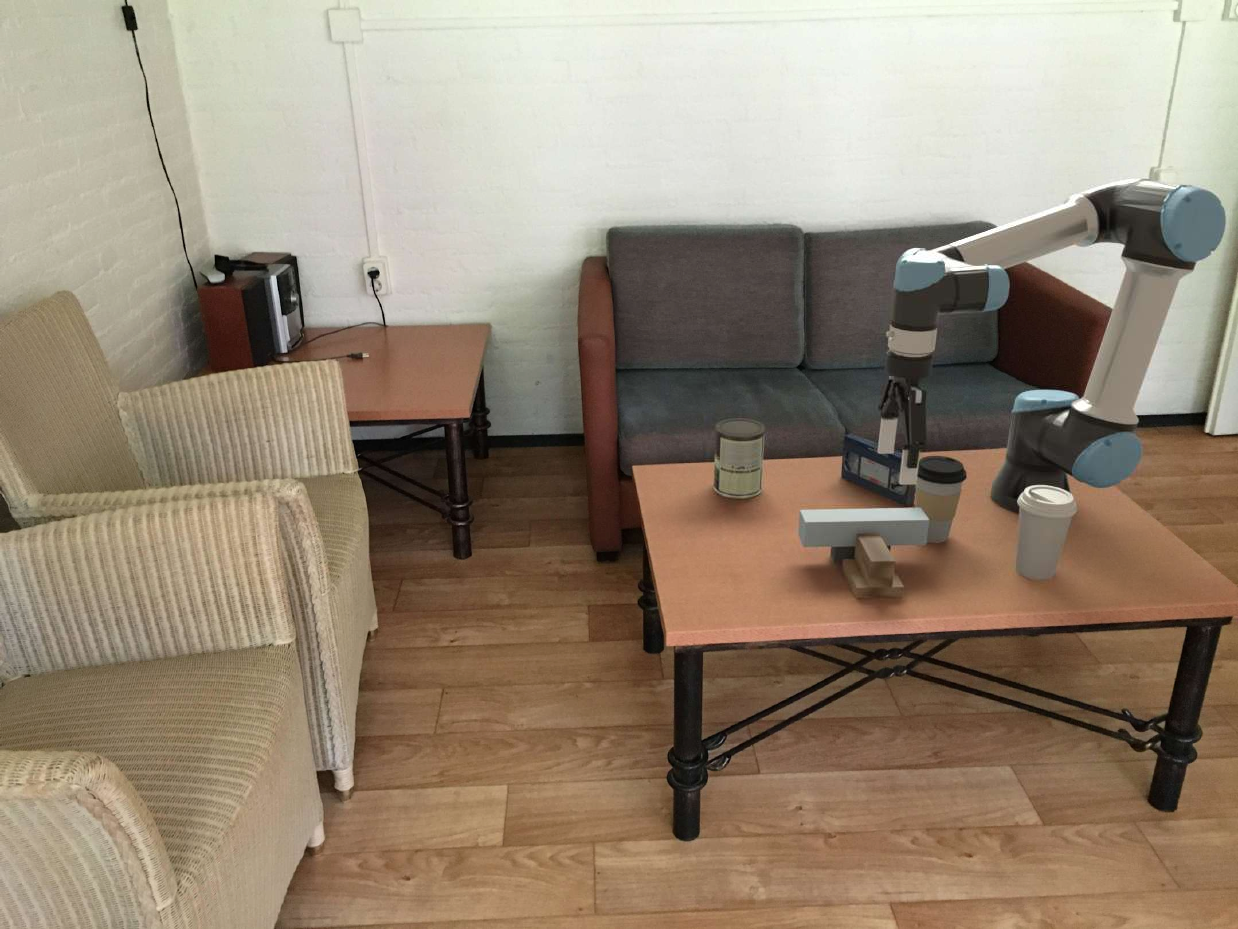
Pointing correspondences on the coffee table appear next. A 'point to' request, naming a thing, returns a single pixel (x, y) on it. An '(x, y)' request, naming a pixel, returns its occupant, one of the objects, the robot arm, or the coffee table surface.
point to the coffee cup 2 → (1042, 529)
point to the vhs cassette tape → (875, 470)
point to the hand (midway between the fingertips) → (896, 467)
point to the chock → (844, 553)
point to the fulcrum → (872, 569)
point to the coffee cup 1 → (939, 493)
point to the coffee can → (738, 458)
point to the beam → (862, 526)
